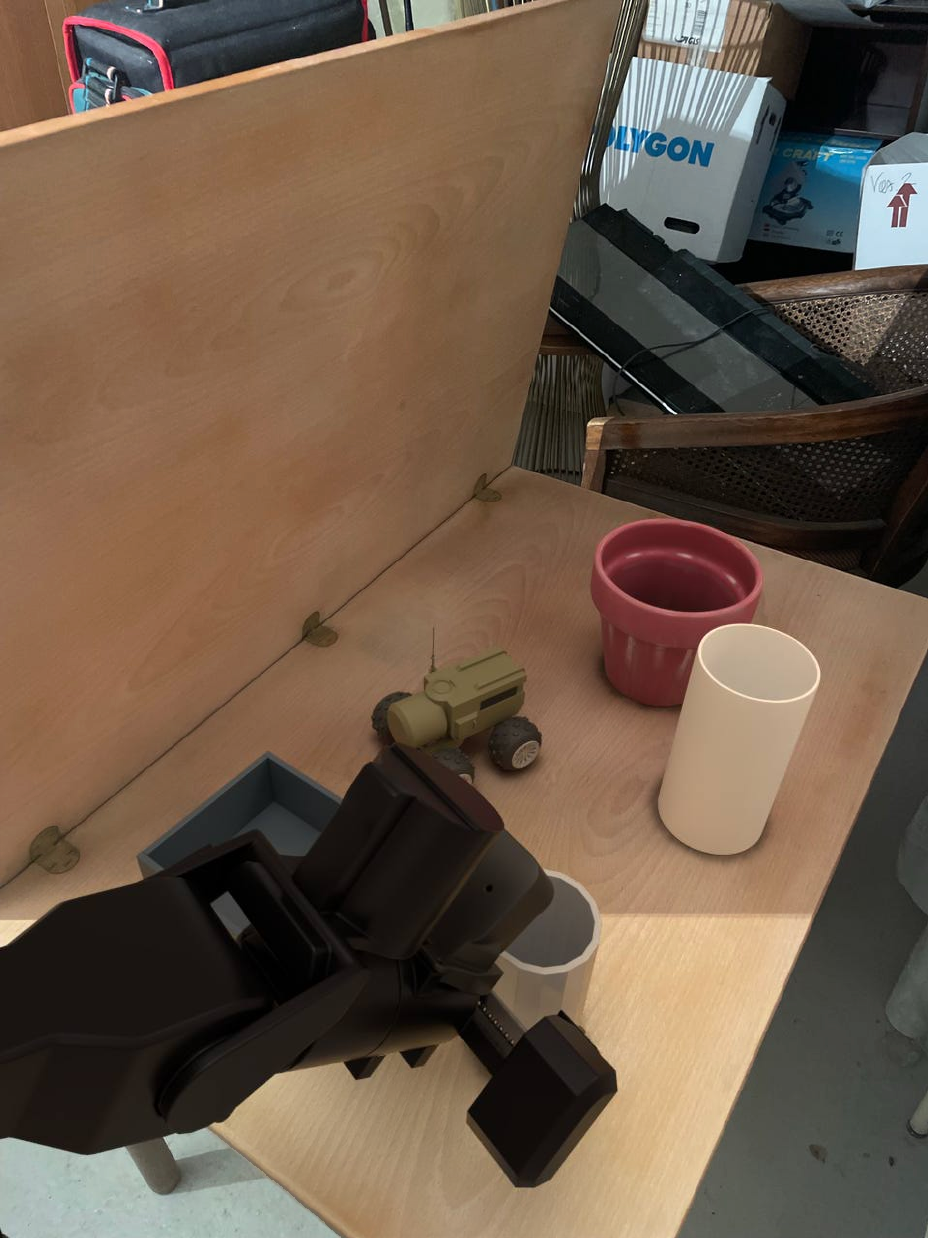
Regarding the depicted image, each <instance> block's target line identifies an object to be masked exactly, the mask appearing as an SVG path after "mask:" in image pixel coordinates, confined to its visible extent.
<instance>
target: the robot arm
mask: <svg viewBox="0 0 928 1238" xmlns="http://www.w3.org/2000/svg"><path fill="white" fill-rule="evenodd" d="M342 799H343V800H342V802H341V804H340V806H339V808H338V809H337V811H336V812H335V814H334V815H333V817H332V818H331V820H330V821H329V822H328V824H327V825H326V827H325V828H324V830H323V831H322V833H321V834H320V835H319V837H318V838H317V840H316V841H315V843H314V844H313V846H312V847H311V848H310V850H309V851H308V853H307V854H306V855H305V856H289V855H280V854H279V853H278V852H277V851H276V849H275V848H274V847H273V846H272V844H271V843H270V842H269V841H268V839H267V838H266V837H265V835H264V834H263V833H262V832H261V830H259V829H253V830H251V831H249V832H246V833H244V834H242V835H240V836H238V837H235V838H233V839H231V840H229V841H227V842H224V843H222V844H220V845H218V846H216V847H213V846H212V845H211V844H210V843H209V844H207V845H206V846H204V847H202V848H201V849H199V850H197V851H196V852H194V853H192V854H190V855H189V856H187V857H185V858H184V859H182V860H180V861H179V862H177V863H175V864H174V865H172V866H170V867H169V868H167V869H165V870H162V871H159V872H158V873H156V874H154V875H152V876H150V877H147V878H145V879H143V878H142V879H141V880H138V881H136V882H131V883H129V884H124V885H120V886H117V887H113V888H109V889H105V890H101V891H97V892H94V893H89V894H86V895H81V896H78V897H74V898H70V899H66V900H63V901H61V902H59V903H57V904H55V905H53V907H51V908H50V909H49V910H48V911H47V912H45V913H44V914H43V915H42V916H40V917H39V918H38V919H37V920H36V921H35V922H33V923H32V924H30V926H28V927H27V928H26V929H24V930H23V931H22V932H20V933H19V934H18V935H16V937H15V938H13V939H12V940H11V941H9V942H8V943H7V944H5V945H2V946H0V1140H4V1139H8V1138H9V1139H16V1140H19V1141H23V1142H27V1143H31V1144H35V1145H38V1146H39V1145H40V1146H44V1147H49V1148H53V1149H56V1150H60V1151H64V1152H68V1153H72V1154H77V1155H80V1156H92V1155H97V1154H101V1153H105V1152H109V1151H112V1150H117V1149H121V1148H125V1147H129V1146H133V1145H138V1144H142V1143H146V1142H149V1141H153V1140H157V1139H160V1138H164V1137H165V1138H166V1137H168V1136H172V1135H174V1134H177V1135H187V1134H192V1133H193V1134H194V1133H195V1132H197V1131H200V1130H203V1129H206V1128H208V1127H210V1126H212V1125H213V1124H221V1123H223V1122H225V1121H227V1120H228V1119H229V1118H230V1117H231V1115H232V1114H233V1112H234V1111H235V1110H236V1109H237V1108H238V1107H239V1106H240V1105H241V1104H242V1103H244V1102H245V1101H246V1100H247V1099H248V1098H250V1097H251V1096H252V1095H253V1094H254V1093H255V1092H257V1091H258V1090H259V1089H260V1088H262V1087H263V1085H265V1084H266V1083H268V1081H269V1080H271V1079H272V1078H273V1077H274V1076H275V1075H279V1074H284V1073H285V1074H286V1073H290V1072H296V1071H301V1070H306V1069H307V1070H308V1069H311V1068H317V1067H323V1066H329V1065H335V1064H340V1063H343V1065H344V1066H345V1068H346V1069H347V1071H348V1072H349V1073H350V1075H351V1076H352V1078H353V1079H354V1080H355V1081H360V1080H365V1079H370V1078H371V1077H372V1076H373V1074H374V1073H375V1072H376V1070H377V1069H378V1067H379V1066H380V1065H381V1064H382V1062H383V1061H384V1059H385V1058H386V1057H387V1055H389V1054H394V1053H399V1054H400V1056H401V1057H402V1058H403V1060H404V1061H405V1062H406V1063H407V1065H408V1066H409V1067H410V1069H417V1068H422V1067H424V1066H425V1065H426V1064H427V1062H428V1061H429V1060H430V1058H431V1057H432V1056H433V1054H434V1053H435V1051H436V1050H437V1049H438V1047H439V1046H440V1045H442V1044H446V1043H448V1042H451V1041H453V1040H454V1039H456V1038H458V1036H459V1037H460V1038H461V1039H462V1041H463V1042H464V1043H465V1044H466V1046H467V1047H468V1048H469V1049H470V1051H471V1052H472V1053H473V1055H474V1056H475V1057H476V1058H477V1059H478V1060H479V1062H480V1063H481V1064H482V1066H483V1067H484V1066H485V1067H484V1068H485V1069H486V1070H487V1072H488V1073H489V1074H490V1075H491V1077H490V1079H489V1080H488V1082H487V1083H486V1084H485V1086H484V1087H483V1088H482V1090H481V1091H480V1092H479V1094H478V1095H477V1096H476V1098H475V1099H474V1100H473V1102H472V1103H471V1105H470V1106H469V1107H468V1109H467V1110H466V1120H465V1124H466V1125H467V1126H468V1128H469V1129H470V1130H471V1132H472V1133H473V1134H474V1135H475V1137H476V1138H477V1140H478V1141H479V1142H480V1143H481V1145H482V1146H483V1148H485V1150H486V1151H487V1153H488V1154H489V1155H490V1156H491V1158H492V1159H493V1161H495V1163H496V1164H497V1166H498V1167H499V1169H500V1170H501V1171H502V1172H503V1173H504V1175H505V1176H506V1177H507V1179H508V1180H509V1181H510V1183H511V1184H512V1185H513V1186H514V1188H515V1189H535V1188H537V1187H539V1186H541V1185H543V1184H545V1183H547V1182H549V1181H551V1180H552V1179H553V1178H554V1176H555V1175H556V1174H557V1172H558V1171H559V1169H560V1168H561V1167H562V1166H563V1165H564V1163H565V1162H566V1161H567V1159H568V1158H569V1156H570V1155H571V1154H572V1152H573V1151H574V1150H575V1148H576V1147H577V1146H578V1145H579V1143H580V1142H581V1141H582V1139H583V1138H584V1136H585V1135H586V1134H587V1133H588V1131H589V1130H590V1128H591V1127H592V1126H593V1125H594V1123H595V1122H596V1121H597V1119H598V1118H599V1117H600V1115H601V1114H602V1113H603V1111H604V1110H606V1109H605V1108H607V1106H608V1105H609V1103H610V1102H611V1101H612V1099H613V1098H614V1097H615V1096H616V1094H617V1092H618V1091H619V1089H618V1078H617V1070H616V1069H615V1068H614V1067H613V1066H612V1065H611V1063H609V1062H608V1060H607V1059H606V1058H605V1057H604V1056H603V1055H602V1054H601V1051H599V1048H598V1047H597V1045H595V1043H594V1042H592V1040H591V1038H589V1037H588V1036H587V1035H586V1033H587V1032H586V1030H585V1028H584V1027H583V1026H582V1025H580V1026H578V1025H576V1024H575V1023H574V1022H573V1021H572V1020H571V1019H570V1018H569V1017H568V1016H567V1014H566V1013H565V1012H564V1011H563V1010H560V1011H559V1013H558V1014H557V1015H556V1014H555V1015H549V1016H545V1017H543V1018H542V1019H541V1020H540V1021H539V1022H537V1023H536V1024H535V1025H534V1026H533V1027H531V1028H530V1029H529V1030H527V1029H526V1027H525V1026H524V1025H523V1024H522V1023H521V1022H520V1021H519V1019H518V1018H517V1017H516V1016H515V1015H514V1014H513V1013H512V1012H511V1010H510V1009H509V1008H508V1007H507V1006H506V1005H505V1004H504V1002H503V1001H502V1000H501V999H500V998H499V997H498V996H497V994H496V993H495V992H494V991H493V990H492V989H493V987H494V986H495V985H496V983H497V982H498V980H499V979H500V978H501V976H502V975H503V974H504V972H503V971H502V970H501V969H500V968H499V967H498V966H497V965H496V963H495V961H496V960H497V958H498V957H499V956H500V954H501V953H503V952H504V951H505V950H506V949H507V948H508V947H509V945H510V944H511V943H512V942H513V941H514V940H515V939H516V938H517V937H518V936H519V935H520V934H521V933H522V932H523V931H524V930H525V929H526V928H527V926H528V925H529V924H530V923H531V922H532V921H533V920H534V919H535V918H536V917H537V916H538V915H540V914H541V913H543V912H544V911H545V910H546V909H547V908H548V906H549V905H550V904H551V902H552V900H553V896H554V887H553V884H552V882H551V880H550V879H549V877H548V876H547V874H546V873H545V872H544V870H543V869H544V868H543V869H542V865H540V863H539V862H538V860H537V859H536V858H535V856H534V855H533V854H532V853H531V852H530V851H529V850H528V849H526V847H525V846H524V845H522V843H520V842H519V841H518V840H517V839H516V838H515V837H514V835H512V834H511V833H510V832H509V831H508V830H507V829H506V828H505V822H504V819H503V818H502V816H501V814H500V813H499V812H498V810H497V809H496V808H495V807H494V805H493V804H492V803H491V802H490V801H489V799H487V798H486V797H485V796H484V795H483V794H482V793H481V792H480V791H479V790H478V789H477V788H475V787H474V786H473V784H472V785H470V784H469V783H468V782H467V781H466V780H464V779H463V778H462V777H460V776H459V775H458V774H456V773H455V772H454V771H452V770H451V769H450V768H448V767H447V766H445V765H444V764H442V763H441V762H439V761H437V760H436V759H434V758H432V757H431V756H429V755H427V754H425V753H423V752H422V751H421V750H420V749H418V748H416V749H415V748H413V747H411V746H408V745H405V744H403V743H399V742H394V743H393V744H391V745H390V744H389V745H384V746H382V747H381V749H380V750H379V751H378V753H377V754H376V756H375V757H374V759H373V760H372V761H368V762H367V763H365V764H364V765H363V766H362V768H361V769H360V770H359V772H358V773H357V775H356V776H355V777H354V779H353V781H352V782H351V783H350V785H349V787H348V788H347V790H346V791H345V794H344V795H343V797H342ZM226 892H229V894H230V895H231V896H232V898H233V899H234V901H235V902H236V904H237V905H238V906H239V908H240V909H241V911H242V912H243V913H244V915H245V916H246V918H247V919H248V920H249V922H250V923H251V924H250V925H248V926H247V927H246V928H245V929H244V930H243V931H242V932H241V933H240V934H239V935H238V937H237V938H236V939H235V940H234V938H233V937H232V935H231V934H230V932H229V931H228V929H227V928H226V927H225V925H224V924H223V922H222V921H221V919H220V918H219V916H218V915H217V913H216V912H215V910H214V909H213V907H212V906H211V905H210V904H212V903H213V902H214V901H216V900H217V899H218V898H220V897H221V896H222V895H224V894H225V893H226ZM479 1002H480V1004H478V1003H479ZM485 1008H486V1009H485ZM484 1009H485V1011H484ZM489 1015H491V1017H490V1016H489ZM495 1021H497V1022H496V1024H495ZM500 1028H502V1030H501V1029H500ZM506 1034H508V1036H506ZM512 1041H514V1042H513V1043H512ZM0 1238H10V1237H9V1236H8V1235H7V1234H5V1233H3V1231H2V1229H1V1227H0Z"/></svg>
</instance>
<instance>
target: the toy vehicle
mask: <svg viewBox="0 0 928 1238" xmlns="http://www.w3.org/2000/svg"><path fill="white" fill-rule="evenodd" d="M435 657H436V655H435V627H434V626H433V627H432V654H431V656H430V659H431V665H430V667H428V673H427V674H425V675H423V690H421V691H419V692H417V693H413V694H412V693H411V692H409V691H407V692H405V691H401V690H399V691H395V692H392V693H389V694H388V695H386V696H384V697H383V698H382V699H381V700H379V701H378V703H377V704H376V705H375V707H374V709H373V711H372V714H371V716H370V719H371V723H372V724H371V727H372V730H375V731H376V732H377V733H376V735H377V736H378V737H379V739H380V740H384V741H383V742H384V743H385V744H387V745H390V744H391V745H392V744H393V743H394V742H399V743H403V744H405V745H408V746H411V747H413V748H415V749H418V748H419V751H421V752H423V753H425V754H427V755H429V756H431V757H432V758H434V759H436V760H437V761H439V762H441V763H442V764H444V765H445V766H447V767H448V768H450V769H451V770H452V771H454V772H455V773H456V774H458V775H459V776H460V777H462V778H463V779H464V780H466V781H467V782H468V783H469V784H470V785H472V786H473V783H474V780H475V776H476V775H475V773H476V772H475V769H476V766H475V765H474V763H471V760H470V757H469V756H468V755H467V754H465V753H464V752H462V750H461V749H460V747H461V745H463V743H464V741H465V739H467V738H469V737H471V736H473V735H476V734H477V733H480V732H482V731H484V730H489V729H491V728H493V729H492V732H491V733H490V735H489V738H488V741H487V748H488V749H487V753H488V755H489V756H491V758H492V760H493V761H494V763H495V764H497V765H498V766H500V768H501V769H502V770H504V771H507V770H508V771H516V770H520V769H522V768H524V767H526V766H528V765H530V764H531V763H532V762H533V761H534V760H535V758H536V757H537V756H538V754H539V753H540V750H541V747H542V743H543V739H542V737H543V734H542V732H541V731H539V728H538V726H537V724H535V723H534V722H531V721H530V719H529V718H528V717H527V716H519V715H518V713H519V712H520V711H521V709H522V707H523V706H524V704H525V697H526V691H525V690H524V684H525V683H526V682H527V681H528V680H527V678H528V674H527V673H526V669H525V668H524V667H523V666H522V665H520V664H517V663H516V662H515V661H513V659H511V658H510V657H509V656H508V655H507V650H505V649H504V648H503V647H502V646H498V645H495V646H492V647H491V648H488V649H486V650H483V651H481V652H478V653H476V654H474V655H473V654H472V655H471V656H469V657H466V658H464V659H461V660H459V661H456V662H454V663H451V664H449V665H447V666H444V667H442V668H439V669H438V668H437V666H435ZM440 738H441V739H440ZM438 739H439V740H438ZM435 740H437V741H435ZM433 741H435V742H433ZM432 742H433V743H432ZM430 743H432V744H430ZM427 744H430V745H428V746H427Z"/></svg>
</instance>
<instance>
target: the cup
mask: <svg viewBox="0 0 928 1238" xmlns="http://www.w3.org/2000/svg"><path fill="white" fill-rule="evenodd" d="M820 680H821V668H820V666H819V663H818V661H817V658H816V657H815V656H814V654H813V653H812V652H811V651H810V650H809V648H807V647H806V646H805V645H804V644H803V643H802V642H800V641H798V640H797V639H795V638H794V637H792V636H790V635H788V634H787V633H785V632H782V631H780V630H777V629H775V628H771V627H768V626H764V625H760V624H753V623H750V624H730V625H725V626H721V627H718V628H716V629H714V630H712V631H710V632H709V633H707V634H706V635H705V636H704V637H703V639H702V640H701V642H700V644H699V646H698V649H697V653H696V657H695V660H694V664H693V668H692V672H691V675H690V679H689V683H688V687H687V691H686V694H685V698H684V702H683V703H682V706H681V709H680V710H681V711H680V714H679V718H678V722H677V726H676V729H675V732H674V737H673V741H672V744H671V748H670V752H669V756H668V760H667V763H666V767H665V770H664V775H663V778H662V782H661V786H660V790H659V794H658V799H657V810H658V814H659V817H660V819H661V821H662V823H663V825H664V826H665V828H666V829H667V831H669V832H670V834H671V835H673V837H675V839H677V840H678V841H680V842H681V843H682V844H684V845H686V846H687V847H688V848H691V849H693V850H696V851H697V852H702V853H706V854H710V855H715V856H731V855H736V854H739V853H743V852H745V851H747V850H749V849H750V848H752V847H753V846H754V845H755V844H756V843H757V842H758V841H759V839H760V837H761V836H762V833H763V831H764V828H765V826H766V823H767V821H768V818H769V815H770V812H771V810H772V807H773V804H774V802H775V799H776V797H777V795H778V792H779V789H780V788H781V784H782V782H783V779H784V776H785V774H786V772H787V769H788V766H789V764H790V761H791V758H792V756H793V753H794V751H795V748H796V745H797V743H798V740H799V737H800V735H801V732H802V730H803V727H804V724H805V722H806V720H807V717H808V715H809V712H810V709H811V706H812V703H813V701H814V699H815V696H816V693H817V691H818V688H819V685H820Z"/></svg>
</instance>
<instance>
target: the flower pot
mask: <svg viewBox="0 0 928 1238" xmlns="http://www.w3.org/2000/svg"><path fill="white" fill-rule="evenodd" d="M763 586H764V573H763V569H762V567H761V563H760V562H759V560H758V559H757V557H756V556H755V555H754V553H753V552H752V551H750V549H748V547H747V546H746V545H744V544H743V543H742V542H740V541H739V540H737V539H736V538H735V537H733V536H732V535H729V534H728V533H725V532H723V531H721V530H719V529H716V528H715V527H713V526H710V525H707V524H703V523H700V522H695V521H691V520H690V521H689V520H685V519H677V518H649V519H642V520H637V521H632V522H629V523H625V524H623V525H621V526H618V527H616V528H615V529H613V530H612V531H610V532H609V533H607V534H606V535H605V536H604V537H603V538H602V539H601V540H600V541H599V543H598V545H597V546H596V549H595V553H594V558H593V564H592V570H591V577H590V597H591V599H592V602H593V605H594V606H595V608H596V609H597V611H598V612H599V619H600V621H599V622H600V631H601V642H602V651H603V659H604V669H605V673H606V676H607V679H608V680H609V682H610V683H611V685H612V686H613V687H614V688H615V689H616V690H617V691H618V692H619V693H620V694H622V695H623V696H625V697H626V698H628V699H631V700H632V701H634V702H637V703H640V704H643V705H647V706H652V707H673V706H679V705H683V702H684V698H685V694H686V691H687V687H688V683H689V679H690V675H691V672H692V668H693V664H694V660H695V657H696V653H697V649H698V646H699V644H700V642H701V640H702V639H703V637H704V636H705V635H706V634H707V633H709V632H710V631H712V630H714V629H716V628H718V627H721V626H725V625H730V624H752V622H753V619H754V617H755V614H756V611H757V607H758V605H759V601H760V598H761V594H762V591H763Z"/></svg>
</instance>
